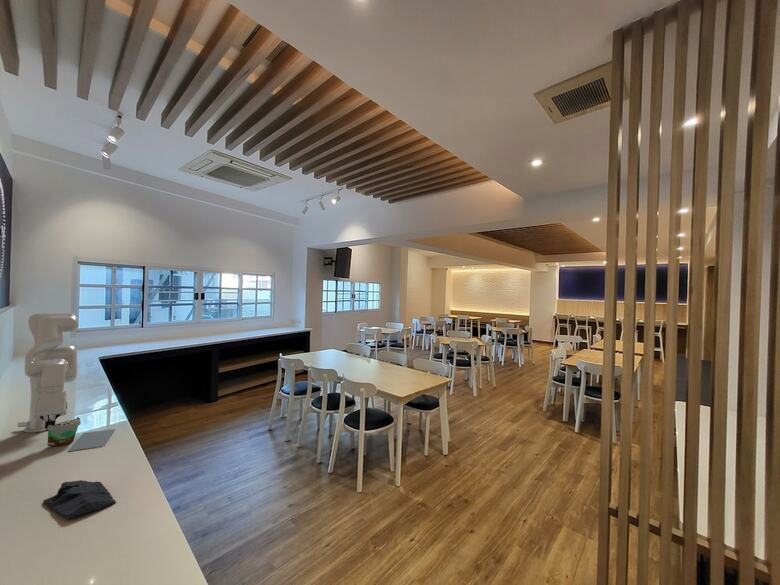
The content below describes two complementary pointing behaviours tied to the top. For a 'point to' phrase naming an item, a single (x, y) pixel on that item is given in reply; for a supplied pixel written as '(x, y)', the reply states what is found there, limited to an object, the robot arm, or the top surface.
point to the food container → (62, 432)
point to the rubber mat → (92, 440)
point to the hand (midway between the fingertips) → (49, 429)
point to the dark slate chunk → (80, 498)
